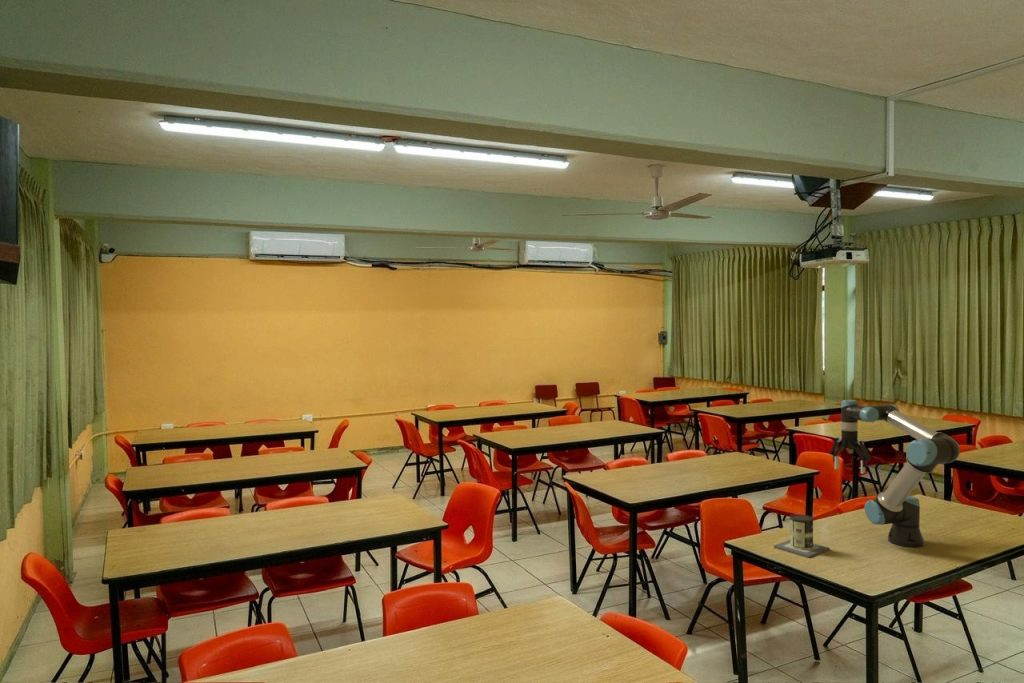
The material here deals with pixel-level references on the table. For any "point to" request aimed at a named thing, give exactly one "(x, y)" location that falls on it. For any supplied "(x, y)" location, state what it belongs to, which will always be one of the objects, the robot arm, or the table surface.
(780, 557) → the table surface
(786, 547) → the mat
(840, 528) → the table surface
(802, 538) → the coffee can
